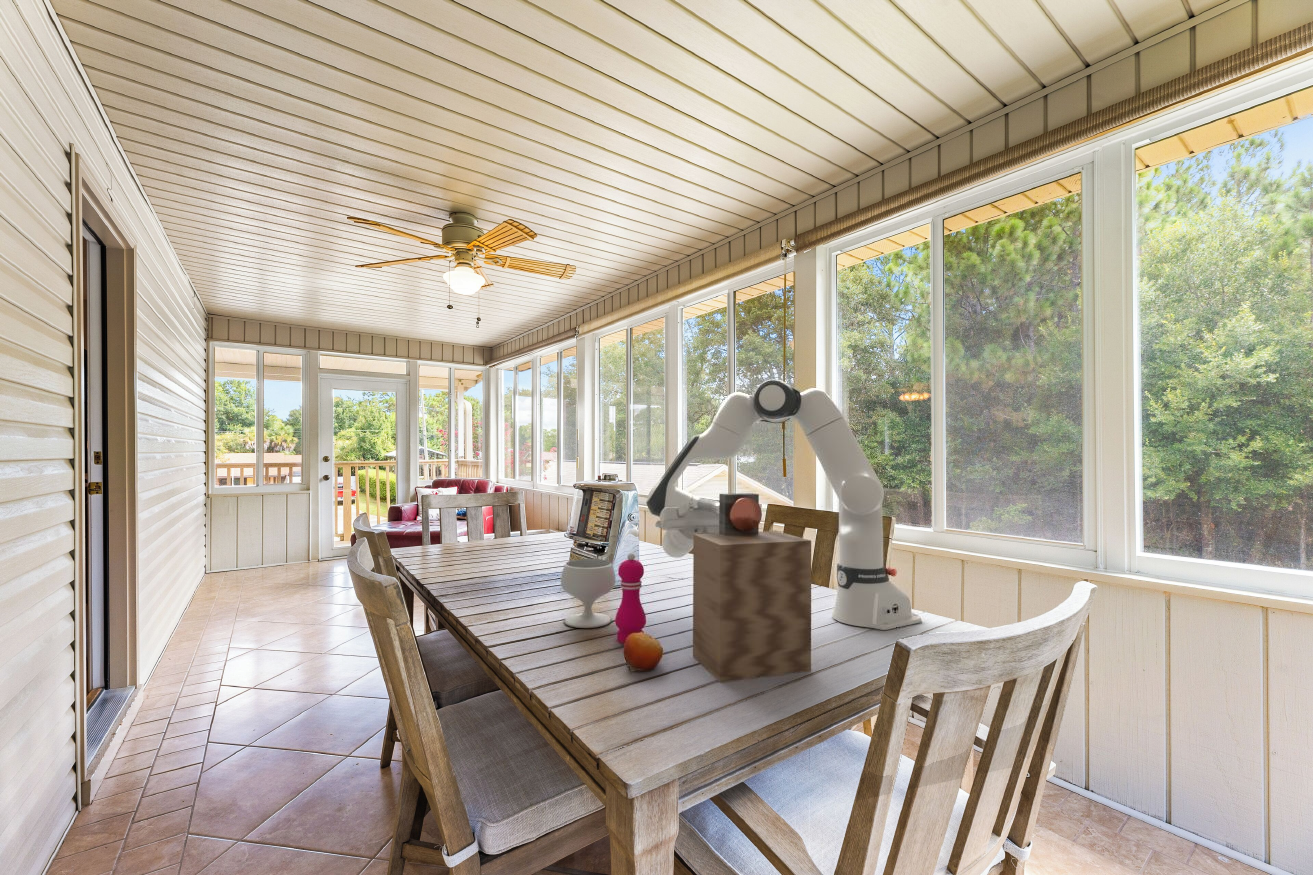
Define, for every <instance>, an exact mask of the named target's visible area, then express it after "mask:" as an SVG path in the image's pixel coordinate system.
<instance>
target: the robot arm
mask: <svg viewBox="0 0 1313 875" xmlns="http://www.w3.org/2000/svg"><path fill="white" fill-rule="evenodd" d="M790 419H792V420H794V421H795V422H797V424H799V426H800V428H801V430H802V431H803V433H804V434H803V435H804V436H805V437H806V440H808V443H809V444H810V447H811V448H812V450H813V452H814V454H815V456H816V457H817V460H818V461H819V463H820V464H821V467H822V469H823V471H824V473H825V475H826V477H827V479H828V481H829V483H830V484H831V488H832V489H833V490H834V493H835V496H837V498H838V505H839V506H838V563H836V580H837V591H836V598H835V599H836V600H835V604H834V607H833V612H832V615H831V617H832V618H833V619H834V620H836V621H838V622H840V623H843V624H846V625H850V626H856V627H863V628H864V627H865V628H871V629H877V630H880V631H881V630H883V631H887V630H891V629H896V627H897V628H899V627H905V626H910V625H914V624H920V623H922V618H921V616H919V615H918V614H916V613H915V612H912V611H913V610H912V604H911V601H910V600H911V599H910V597H909V596H908V595H907V594H906V593H905V592H904V591H903V590H902V589H901V588H899V587H898V586H896V585H895V584H894V583H892V582H891V581H890V578H889V576H891V577H896V576H897V574H898V571H897V569H896V568H892V567H885V566H884V529H883V502H884V499H885V498H884V497H885V490H884V486H883V483H882V482H881V481H880V479H879V476H878V475H877V473H876V471H875V470H874V468H873V466H872V465H871V463H870V461H869V459H868V457H867V456H866V454H865V452H864V451H863V449H862V447H861V445H860V444H859V442H858V440H857V438H856V437H855V435H854V433H853V431H852V430H851V428H850V425H849V424H848V423H847V421H846V419H845V417H844V416H843V414H842V412H841V410H840V409H839V407H838V406H837V405H836V403H835V402H834V400H833V399H832V398H831V397H830V396H829V394H828V393H827V392H826V391H825V390H823V389H822V388H808V389H805V391H802V392H800V390H798V389H797V388H795V387H793V386H791V385H790V384H788V383H787V382H785V381H784V380H780V379H768V380H765V381H763V382H762V383H761V384H759V385H758V386H757V388H756V389H755V391H754V393H753V395H749V394H747V393H744V392H739V391H738V392H732V393H731V394H728V395H727V397H726V398H725V400H724V401H723V402H722V404H721V405H720V407H719V409H718V410H717V412H716V414H715V416H713V419H712V421H711V423H710V424H709V427H708V428H707V429H705V431H703V432H702V433H700V434H694V435H693V436H692V437H691V438H690V439H689V440H688V441H687V442H686V443H685V445H684V447H683V448H682V449H681V450H680V452H679V453H678V455H677V456H676V457H675V459H674V460H673V461H672V462H671V464H670V466H668V468H667V469H666V471H665V473H664V474H663V475H662V476H661V478H660V480H659V481H657V483H656V484H655V485H654V486H653V487H652V488H651V489H650V491H649V492H648V495H647V499H646V506H647V508H648V511H649V512H650V514H651V515H654V516H655V517H658V518H659V520H657V521H656V522H655V528H659V529H660V530H663V531H665V533H664V535H663V537H662V540H661V547H662V551H664V553H665V554H666V555H668V556H669V557H671V558H675V559H677V558H678V559H679V558H682V557H685V556H686V555H688V554H689V553H690V552H691V551H693V539H694V534H714V533H719V514H715V513H711V512H708V511H704V510H700V509H699V508H698V507H697V501H698V500H699V499H700V498H701V497H699V496H697V495H695V494H693V493H690V492H688V491H686V490H684V489H682V488H680V487H677V486H676V483H677V481H678V480H679V479H680V477H681V476H682V475H683V473H684V471H685V470H686V469H687V467H688V466H689V465H690V464H691V463H692V462H694V461H696V460H701V459H704V460H705V459H706V460H719V461H721V460H729V459H732V458H734V457H736V456H737V455H739V454H740V452H741V451H742V449H743V448H744V446H745V444H746V442H747V440H748V438H749V436H750V434H751V432H752V430H753V428H754V426H756V424H757V423H758V422H765V423H771V424H781V423H782V424H783V423H785V422H788V421H789V420H790Z"/></svg>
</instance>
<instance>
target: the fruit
mask: <svg viewBox="0 0 1313 875" xmlns="http://www.w3.org/2000/svg"><path fill="white" fill-rule="evenodd" d="M622 652H623V658H624V661H625V664H626V667H627V666H629V669H630V672H629V674H630V675H631V674H632V673H633V672H634V671H643V672H648V671H654V670H655V669H656V668H657V666H658V665H659V663H660V661H661V660H662V658H663V653H664V647H663V646H662V645H661V643H660V641H659V640H658V639H657V638H654V637H653V636H652V635H650V634H648V633H645V632H644V633H643V632H640V633H632V634H630V635H629V636H628V637H627V639H626V641H625V643H624V645H623V649H622Z"/></svg>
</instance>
